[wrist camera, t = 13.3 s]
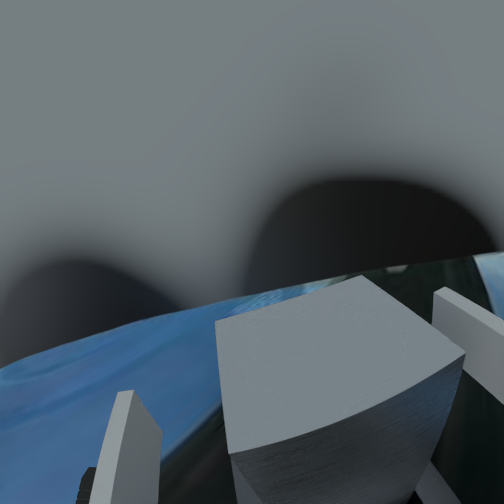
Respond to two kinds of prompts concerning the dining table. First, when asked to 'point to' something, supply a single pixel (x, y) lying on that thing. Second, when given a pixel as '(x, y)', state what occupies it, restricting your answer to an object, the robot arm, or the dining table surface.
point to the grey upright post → (335, 395)
